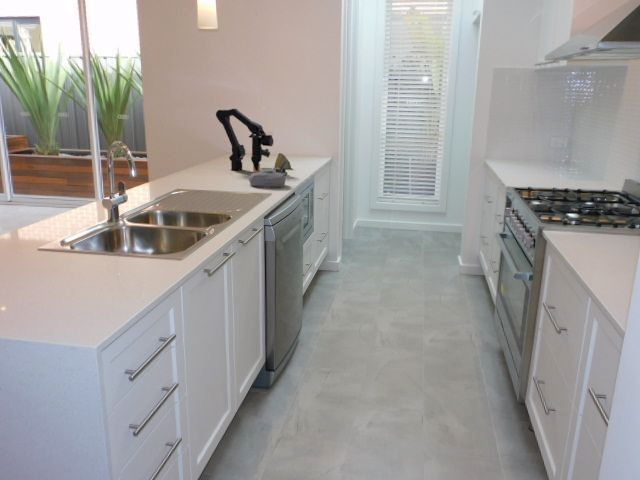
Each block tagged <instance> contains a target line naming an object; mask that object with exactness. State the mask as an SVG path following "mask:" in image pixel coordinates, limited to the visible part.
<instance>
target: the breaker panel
mask: <svg viewBox="0 0 640 480" xmlns="http://www.w3.org/2000/svg"><path fill="white" fill-rule="evenodd" d="M262 171H275V172H277V173H281V174H284V175H285V177H286V175H287V169H286V168H284V169H283V171H282V169H279V168H274V167H260V172H262Z"/></svg>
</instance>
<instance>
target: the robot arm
mask: <svg viewBox="0 0 640 480" xmlns="http://www.w3.org/2000/svg"><path fill="white" fill-rule="evenodd" d="M232 116H233V117H234V118H236V120H238V121H239V122H241V123H242V124H243V125H245V126H246V127H247V129H248V131H249V132H250V135H249V136H248V138H251V156H250V159H251V160H250V161H251V162H252V164H253V165H254V167H255V170H256V171H257V170H258V165H259V163H261V162H262V157H263V156H264V157H266V158H268V159H269V157H270V155H271V151H269V149H268V148H265V149H263V147H262V146H264V147H265V146H266V147H273V146H274V138H273V135H272V134H266V133H265V131H264V129H263V126H262V125H261V124H260V123H258V122H255V121H253V120H251V119H250V118H248V117H247V116H246V115H245V114H243V113H242V112H241V111H240V110H238V109H237V108H231V109H218V110H217V111H216V113H215V117H216V119H217V120H218V121H219V123H220V124H222V126H223V129H224V131H225V133H226V136H227V138H228V140H229V143H230V145H231V155H230V156H229V157H228V158H229V161H230V163H231V165H230V166H231V167H230V168H231V169H230V171H242V170H243V159H244V158H245V156H246V149H245V146H244V144H240V143H239V140H238V137H237V136H236V134H235V131H234V128H233V127H232V124H231V117H232Z"/></svg>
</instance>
